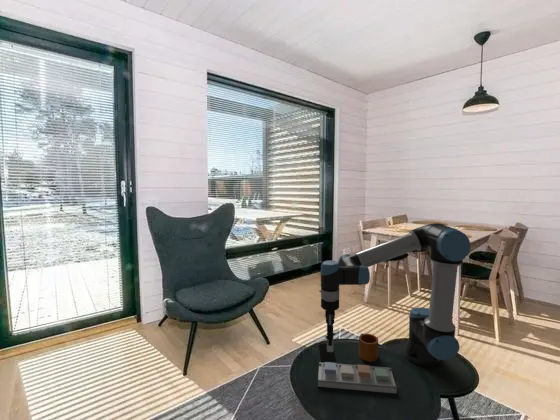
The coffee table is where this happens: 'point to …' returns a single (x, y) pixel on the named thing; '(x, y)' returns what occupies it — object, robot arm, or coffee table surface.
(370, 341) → the mug
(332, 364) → the key blue
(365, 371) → the key terracotta
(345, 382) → the keypad
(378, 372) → the key sage
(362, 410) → the coffee table surface
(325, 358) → the smartphone
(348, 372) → the key cream
